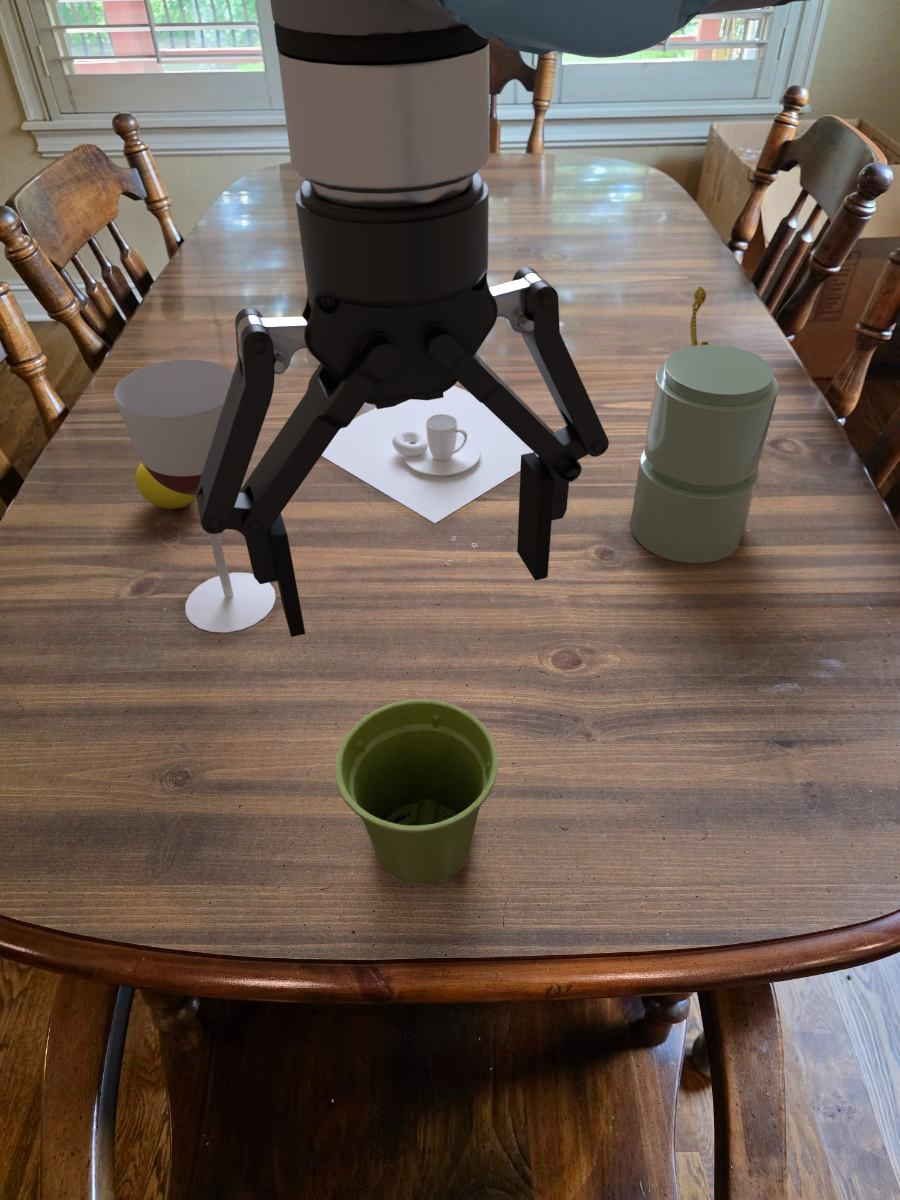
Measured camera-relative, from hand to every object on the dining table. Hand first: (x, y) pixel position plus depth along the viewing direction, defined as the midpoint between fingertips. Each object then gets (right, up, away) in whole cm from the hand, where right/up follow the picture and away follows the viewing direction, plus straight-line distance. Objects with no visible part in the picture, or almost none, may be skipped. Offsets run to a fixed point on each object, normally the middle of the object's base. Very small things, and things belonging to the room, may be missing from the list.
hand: (416, 591), depth 47 cm
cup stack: (+23, +6, +32) cm, 40 cm away
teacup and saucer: (0, +16, +44) cm, 47 cm away
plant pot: (0, -16, +8) cm, 18 cm away
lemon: (-25, +9, +37) cm, 45 cm away
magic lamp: (+29, +19, +47) cm, 59 cm away
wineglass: (-17, -1, +26) cm, 31 cm away
